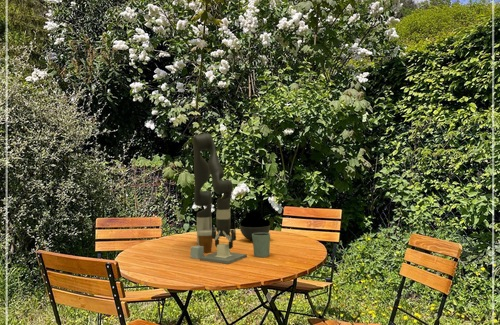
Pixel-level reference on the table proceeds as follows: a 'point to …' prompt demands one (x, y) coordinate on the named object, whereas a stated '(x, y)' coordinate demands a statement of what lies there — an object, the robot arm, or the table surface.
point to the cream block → (223, 250)
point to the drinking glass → (261, 244)
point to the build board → (223, 258)
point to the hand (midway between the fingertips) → (223, 247)
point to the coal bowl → (253, 225)
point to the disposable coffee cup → (205, 240)
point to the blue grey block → (197, 252)
